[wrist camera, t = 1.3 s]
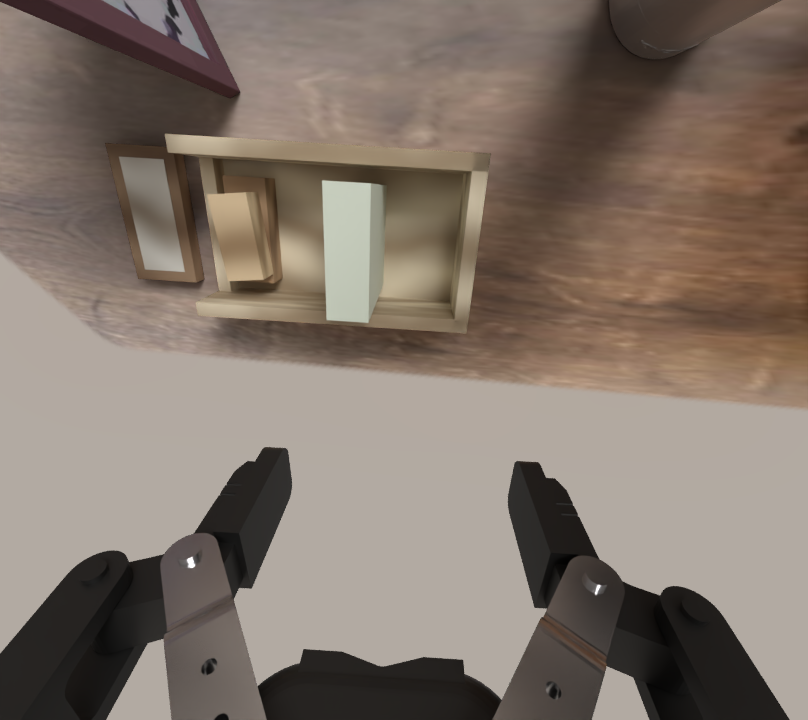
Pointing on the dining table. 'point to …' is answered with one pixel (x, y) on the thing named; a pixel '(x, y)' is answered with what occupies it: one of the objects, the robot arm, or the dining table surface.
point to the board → (157, 212)
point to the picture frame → (145, 34)
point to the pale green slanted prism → (353, 248)
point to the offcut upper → (241, 235)
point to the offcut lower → (269, 214)
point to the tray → (304, 231)
